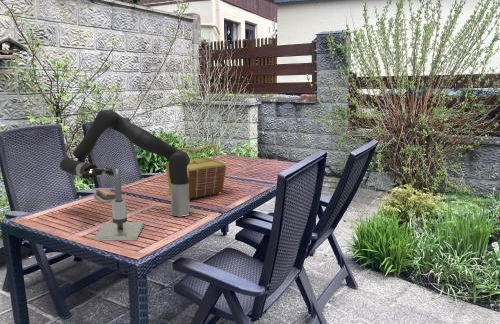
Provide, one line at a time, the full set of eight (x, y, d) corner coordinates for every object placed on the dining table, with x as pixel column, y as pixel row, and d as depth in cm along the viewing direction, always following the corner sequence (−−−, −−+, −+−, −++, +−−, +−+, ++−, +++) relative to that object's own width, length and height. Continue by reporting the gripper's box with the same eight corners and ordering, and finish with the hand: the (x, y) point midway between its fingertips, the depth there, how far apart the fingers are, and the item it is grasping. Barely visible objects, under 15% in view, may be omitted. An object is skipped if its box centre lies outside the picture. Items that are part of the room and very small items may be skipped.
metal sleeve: (127, 215, 194) (126, 198, 192) (124, 219, 188) (123, 202, 187) (114, 215, 194) (113, 198, 192) (111, 219, 188) (110, 202, 186)
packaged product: (92, 189, 251) (109, 186, 256) (92, 196, 251) (109, 194, 257) (102, 195, 236) (119, 193, 242) (102, 204, 237) (119, 201, 243)
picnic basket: (186, 204, 237) (185, 152, 231) (164, 194, 257) (163, 146, 251) (228, 195, 256) (228, 147, 250) (204, 186, 275) (204, 141, 269)
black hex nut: (127, 219, 194) (127, 215, 194) (125, 223, 189) (124, 219, 188) (115, 219, 194) (114, 215, 194) (111, 223, 188) (111, 219, 188)
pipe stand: (144, 225, 202) (141, 165, 196) (136, 240, 184) (133, 173, 178) (105, 226, 201) (102, 165, 195) (94, 240, 183) (90, 173, 177)
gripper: (72, 165, 199) (89, 169, 188) (99, 160, 209) (117, 164, 199) (73, 180, 200) (91, 186, 190) (101, 175, 211) (118, 180, 200)
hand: (104, 175), depth 194 cm, fingers open, 8 cm apart
